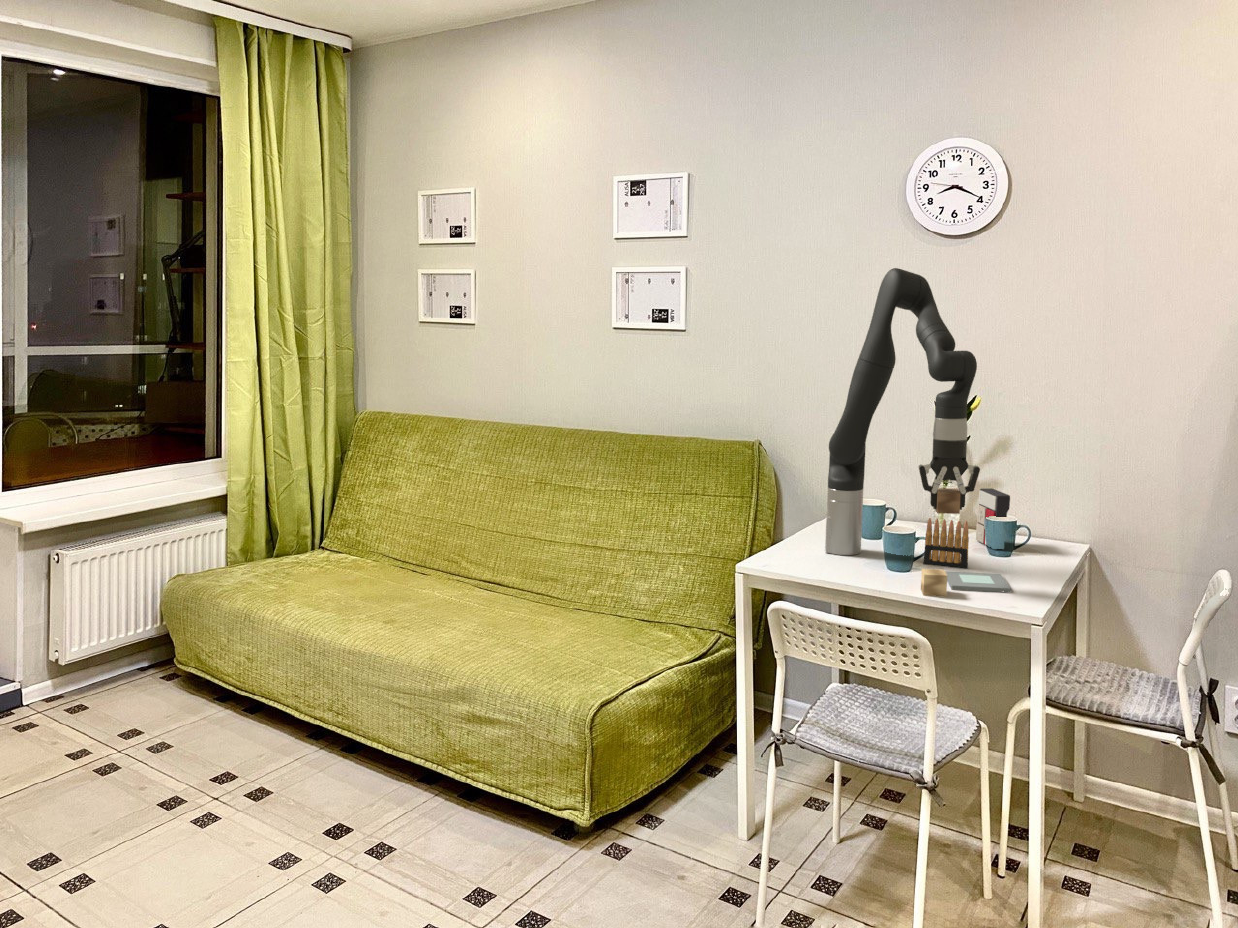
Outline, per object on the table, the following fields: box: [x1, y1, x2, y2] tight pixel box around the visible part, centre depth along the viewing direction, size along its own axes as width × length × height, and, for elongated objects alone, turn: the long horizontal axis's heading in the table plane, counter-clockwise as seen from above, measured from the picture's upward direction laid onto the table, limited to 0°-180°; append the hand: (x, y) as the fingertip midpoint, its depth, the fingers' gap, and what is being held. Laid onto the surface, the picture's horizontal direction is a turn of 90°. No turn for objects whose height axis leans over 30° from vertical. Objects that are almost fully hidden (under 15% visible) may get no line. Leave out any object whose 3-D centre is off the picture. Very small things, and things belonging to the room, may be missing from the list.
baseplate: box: [945, 570, 1012, 593], centre depth 240 cm, size 13×13×1 cm
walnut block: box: [934, 488, 961, 515], centre depth 238 cm, size 5×5×5 cm
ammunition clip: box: [922, 517, 970, 570], centre depth 255 cm, size 11×2×12 cm, turn 65°
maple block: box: [920, 568, 948, 598], centre depth 232 cm, size 5×5×5 cm
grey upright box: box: [975, 488, 1011, 546], centre depth 277 cm, size 11×4×15 cm, turn 5°
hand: (947, 508), depth 238 cm, fingers closed on walnut block, 5 cm apart
